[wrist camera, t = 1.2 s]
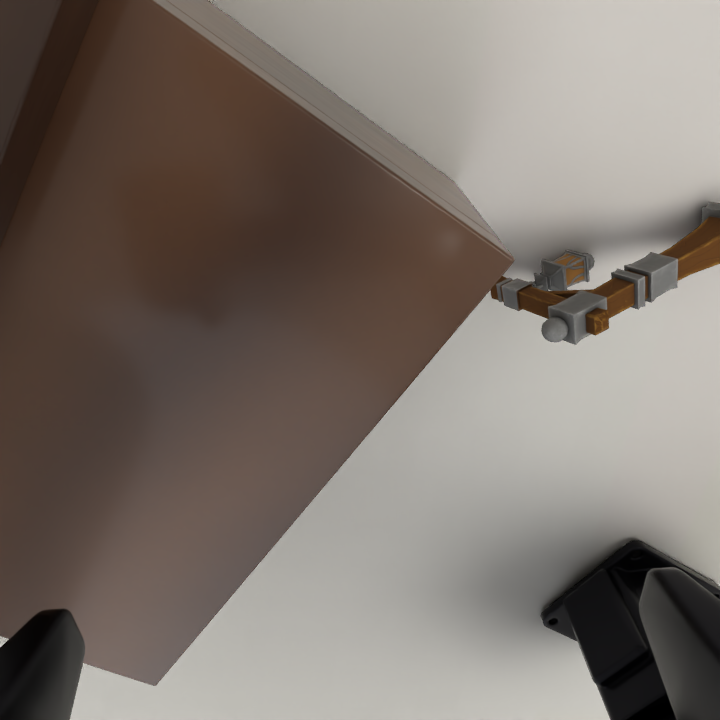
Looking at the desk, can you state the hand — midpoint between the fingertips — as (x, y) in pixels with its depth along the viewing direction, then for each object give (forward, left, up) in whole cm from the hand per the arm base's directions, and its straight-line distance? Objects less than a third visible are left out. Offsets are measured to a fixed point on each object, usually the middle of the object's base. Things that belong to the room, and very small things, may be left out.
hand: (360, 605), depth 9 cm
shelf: (+4, +4, -13) cm, 14 cm away
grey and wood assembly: (-7, -6, -13) cm, 16 cm away
